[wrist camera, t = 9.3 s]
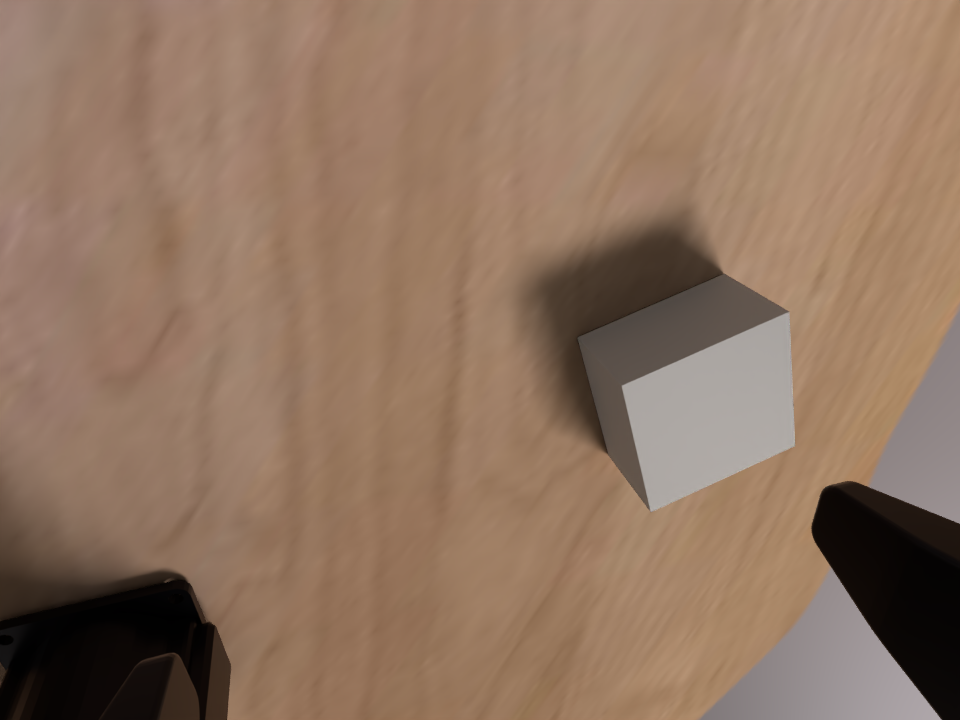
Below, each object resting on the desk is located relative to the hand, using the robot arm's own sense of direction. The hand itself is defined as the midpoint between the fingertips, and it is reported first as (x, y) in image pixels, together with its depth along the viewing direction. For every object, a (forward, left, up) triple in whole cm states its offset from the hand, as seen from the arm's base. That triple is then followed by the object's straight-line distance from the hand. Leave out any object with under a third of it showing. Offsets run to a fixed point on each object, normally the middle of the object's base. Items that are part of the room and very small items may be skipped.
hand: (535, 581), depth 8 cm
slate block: (+10, -6, -13) cm, 18 cm away
